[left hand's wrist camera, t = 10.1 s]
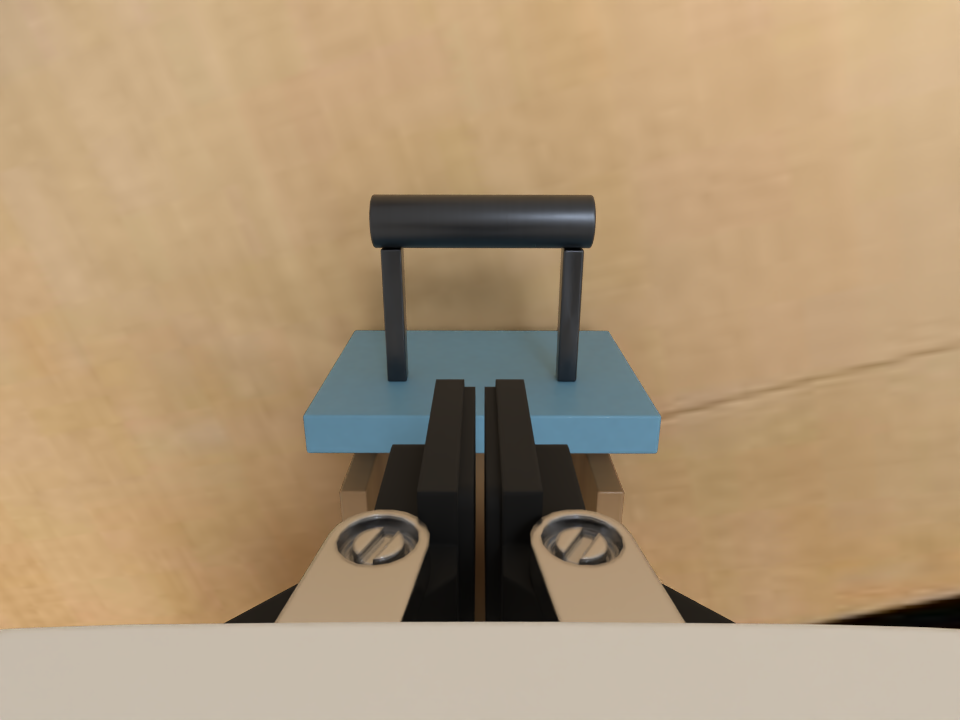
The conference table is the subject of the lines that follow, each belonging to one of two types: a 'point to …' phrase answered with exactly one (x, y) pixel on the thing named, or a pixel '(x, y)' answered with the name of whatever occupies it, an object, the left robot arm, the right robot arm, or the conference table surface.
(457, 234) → the drawer
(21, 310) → the conference table surface
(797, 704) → the left robot arm
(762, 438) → the conference table surface
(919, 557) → the conference table surface
